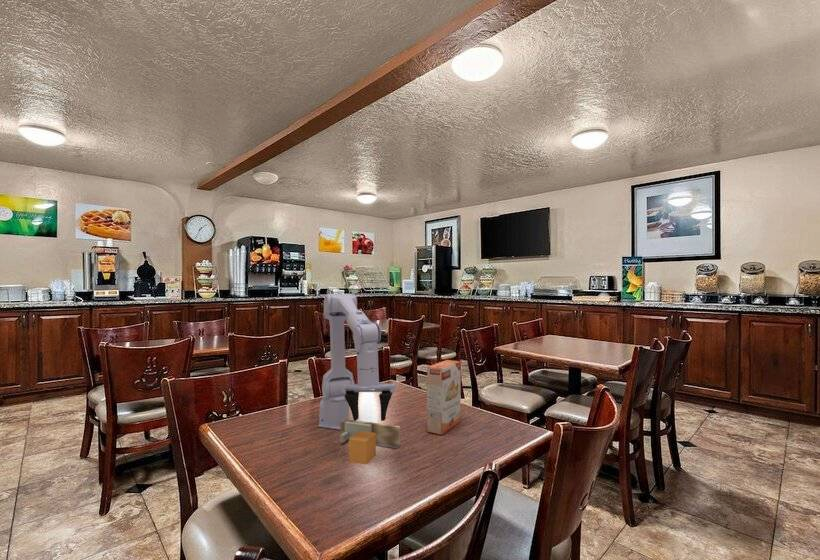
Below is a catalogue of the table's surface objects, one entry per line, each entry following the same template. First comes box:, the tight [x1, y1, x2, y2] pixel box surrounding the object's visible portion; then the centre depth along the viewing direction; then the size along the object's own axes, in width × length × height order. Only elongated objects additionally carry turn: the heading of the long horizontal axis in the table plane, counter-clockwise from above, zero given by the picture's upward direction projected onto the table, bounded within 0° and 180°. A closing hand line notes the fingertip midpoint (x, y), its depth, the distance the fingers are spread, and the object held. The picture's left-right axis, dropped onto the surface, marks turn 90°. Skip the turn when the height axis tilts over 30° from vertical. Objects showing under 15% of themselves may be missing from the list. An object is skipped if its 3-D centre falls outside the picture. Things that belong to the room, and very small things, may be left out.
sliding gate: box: [339, 421, 372, 443], centre depth 113 cm, size 8×4×5 cm, turn 70°
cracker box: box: [426, 359, 462, 436], centre depth 125 cm, size 14×6×21 cm, turn 148°
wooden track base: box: [339, 418, 401, 450], centre depth 113 cm, size 18×3×6 cm, turn 70°
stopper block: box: [348, 431, 377, 465], centre depth 103 cm, size 5×6×6 cm
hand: (369, 419), depth 102 cm, fingers open, 7 cm apart
